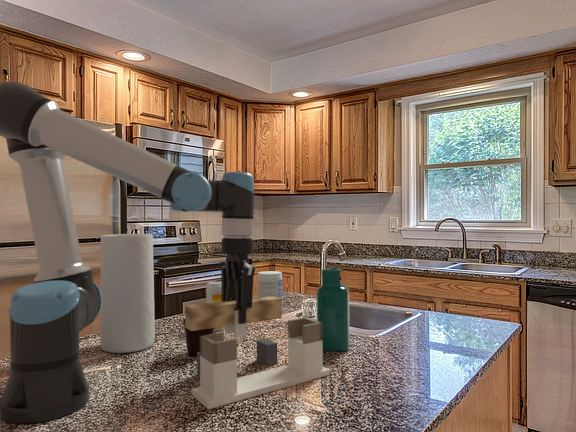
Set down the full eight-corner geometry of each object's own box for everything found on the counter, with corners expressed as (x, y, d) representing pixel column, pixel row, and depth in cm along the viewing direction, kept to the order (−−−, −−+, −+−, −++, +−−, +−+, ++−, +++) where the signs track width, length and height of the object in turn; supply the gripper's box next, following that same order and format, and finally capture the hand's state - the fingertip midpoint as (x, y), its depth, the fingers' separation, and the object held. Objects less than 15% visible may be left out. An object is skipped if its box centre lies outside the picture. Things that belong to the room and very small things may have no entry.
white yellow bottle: (229, 328, 140) (229, 282, 140) (216, 332, 135) (216, 285, 135) (215, 326, 143) (215, 281, 143) (202, 330, 138) (202, 283, 138)
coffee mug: (209, 359, 109) (208, 320, 109) (177, 358, 111) (177, 319, 111) (224, 346, 121) (224, 310, 121) (196, 344, 122) (195, 309, 122)
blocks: (206, 380, 95) (205, 358, 95) (197, 373, 100) (197, 352, 100) (277, 363, 106) (277, 343, 106) (266, 357, 110) (266, 338, 110)
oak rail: (191, 331, 95) (191, 308, 95) (185, 327, 97) (185, 305, 98) (281, 318, 108) (281, 298, 108) (273, 315, 111) (274, 296, 111)
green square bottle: (320, 341, 124) (319, 265, 124) (349, 343, 123) (349, 266, 123) (315, 352, 115) (315, 269, 115) (347, 354, 113) (346, 270, 113)
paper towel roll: (95, 356, 113) (94, 236, 113) (106, 341, 127) (105, 234, 127) (152, 352, 116) (150, 235, 116) (157, 337, 130) (156, 233, 130)
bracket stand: (208, 409, 81) (207, 346, 81) (192, 395, 88) (191, 336, 88) (329, 374, 98) (329, 322, 98) (308, 364, 105) (308, 315, 105)
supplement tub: (284, 312, 162) (284, 273, 162) (260, 313, 160) (259, 274, 160) (280, 307, 172) (279, 270, 172) (256, 308, 170) (256, 271, 170)
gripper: (269, 238, 98) (267, 341, 98) (235, 235, 112) (233, 325, 112) (240, 239, 94) (238, 346, 94) (208, 235, 108) (206, 329, 108)
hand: (235, 334), depth 103 cm, fingers closed on oak rail, 4 cm apart
